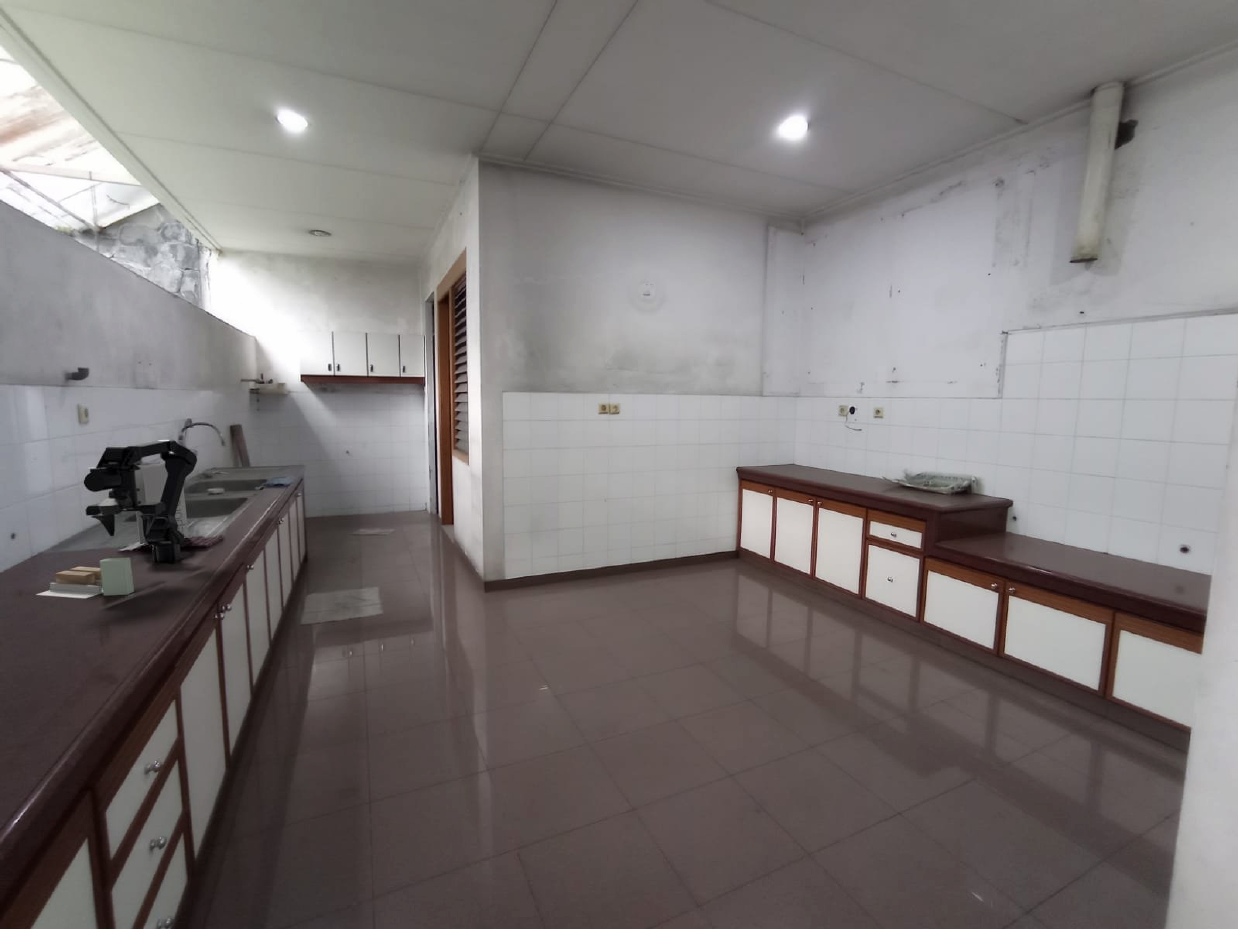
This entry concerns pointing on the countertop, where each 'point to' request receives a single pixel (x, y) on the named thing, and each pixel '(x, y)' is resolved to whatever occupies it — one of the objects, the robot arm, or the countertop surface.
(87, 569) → the offcut front
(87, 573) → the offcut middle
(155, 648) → the countertop surface
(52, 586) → the rack
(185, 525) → the white cardboard box
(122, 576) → the sage green block
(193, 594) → the countertop surface
